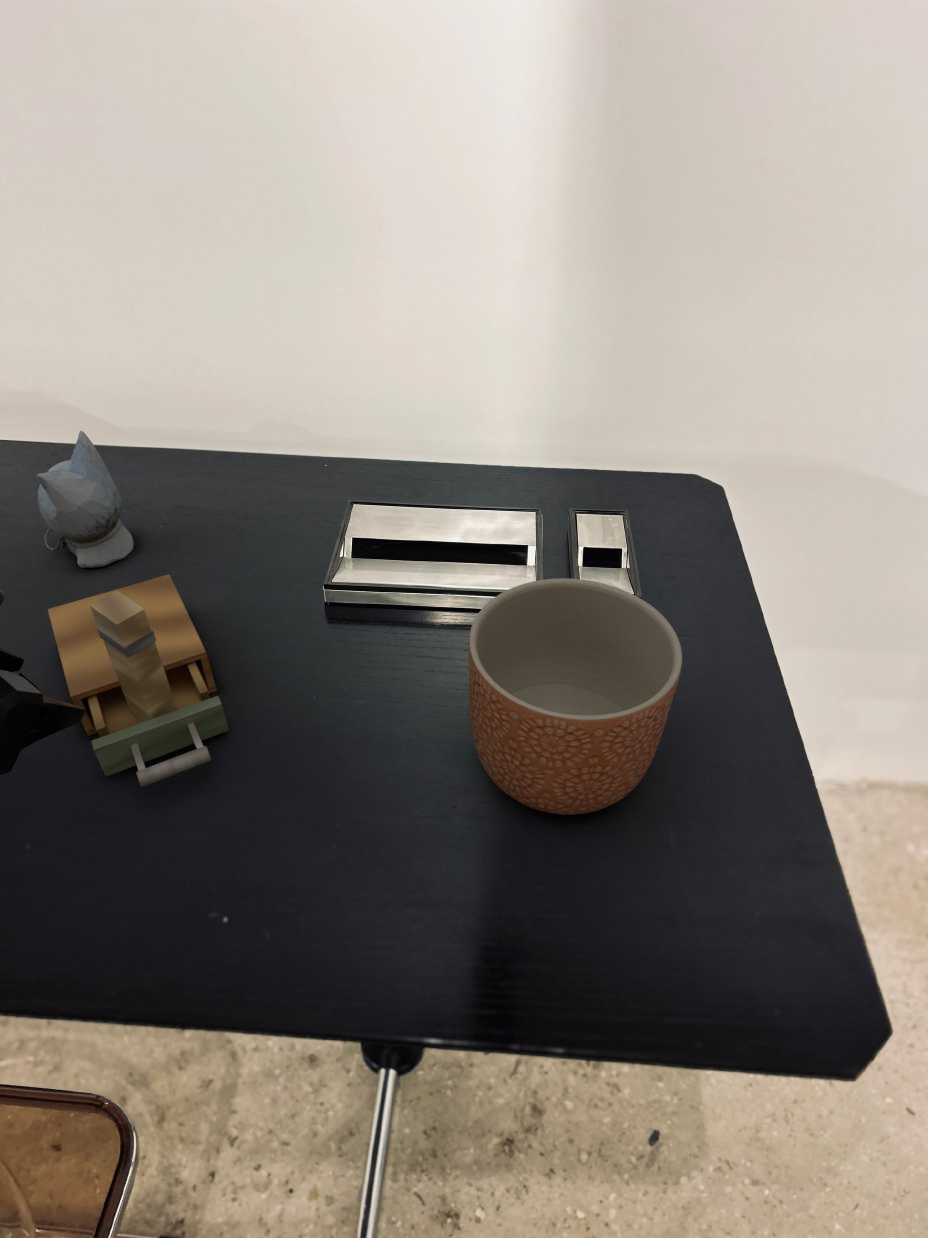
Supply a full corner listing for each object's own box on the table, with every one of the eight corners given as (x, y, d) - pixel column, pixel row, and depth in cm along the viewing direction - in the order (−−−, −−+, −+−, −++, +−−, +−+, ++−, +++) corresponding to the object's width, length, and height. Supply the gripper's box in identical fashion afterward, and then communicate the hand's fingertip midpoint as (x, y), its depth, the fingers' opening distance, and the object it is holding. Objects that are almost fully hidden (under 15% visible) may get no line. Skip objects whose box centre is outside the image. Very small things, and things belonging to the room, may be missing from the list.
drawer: (244, 764, 71) (237, 737, 68) (116, 815, 66) (104, 788, 64) (191, 647, 83) (183, 621, 80) (80, 684, 78) (68, 657, 76)
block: (156, 737, 72) (116, 625, 63) (130, 715, 74) (87, 605, 65) (182, 719, 74) (146, 608, 65) (155, 699, 75) (117, 589, 67)
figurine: (99, 524, 102) (63, 417, 93) (151, 542, 99) (119, 434, 89) (37, 563, 96) (-10, 452, 86) (91, 584, 92) (48, 472, 83)
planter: (679, 829, 67) (717, 706, 57) (483, 855, 65) (489, 731, 55) (618, 689, 80) (641, 569, 70) (454, 707, 78) (454, 586, 68)
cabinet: (216, 690, 79) (206, 651, 76) (88, 736, 74) (70, 696, 71) (180, 612, 89) (169, 573, 85) (64, 647, 84) (47, 609, 80)
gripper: (-44, 605, 45) (163, 649, 59) (-174, 498, 54) (33, 558, 68) (-128, 777, 45) (98, 780, 59) (-243, 642, 54) (-22, 672, 68)
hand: (50, 688), depth 63 cm, fingers open, 9 cm apart
